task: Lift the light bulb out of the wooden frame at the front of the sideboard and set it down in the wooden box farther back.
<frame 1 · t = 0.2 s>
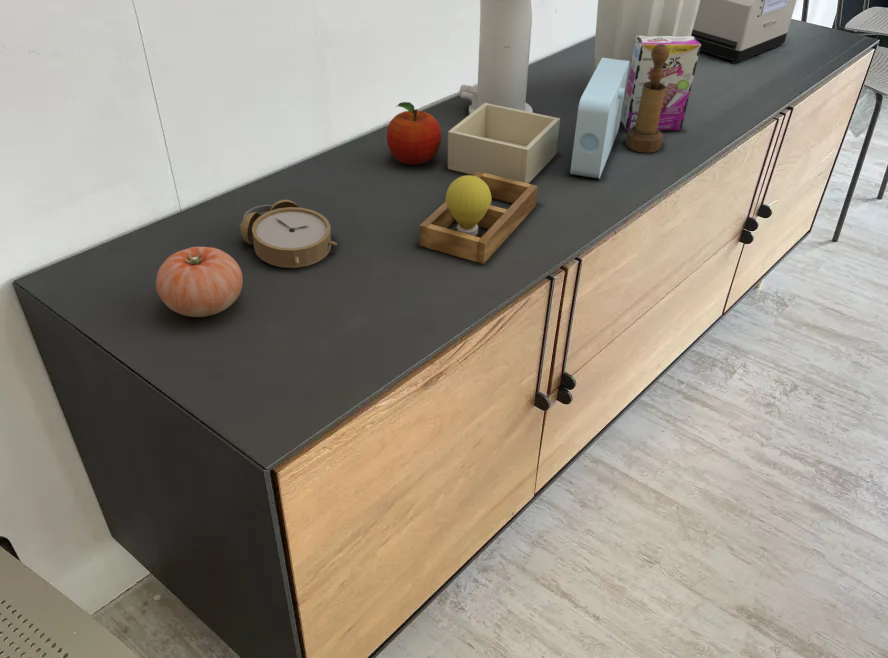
vase: (632, 96, 163), on the sideboard top
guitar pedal: (595, 153, 142), on the sideboard top
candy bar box: (650, 128, 151), on the sideboard top
wooden frame: (480, 224, 121), on the sideboard top
toaster: (716, 43, 191), on the sideboard top
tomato: (205, 307, 104), on the sideboard top
light bulb: (467, 239, 118), resting in wooden frame
mortar and pestle: (642, 146, 145), on the sideboard top
alarm clock: (286, 245, 116), on the sideboard top
fruit: (414, 161, 138), on the sideboard top
wooden box: (502, 161, 138), on the sideboard top
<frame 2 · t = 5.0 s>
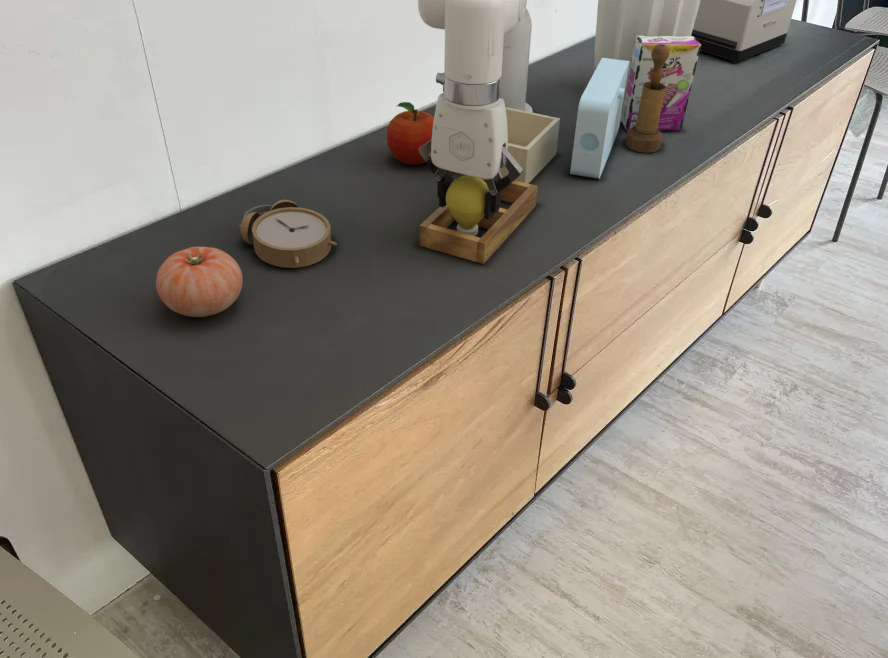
hand: (468, 208, 115), 5 cm above the sideboard top, tool pointing down, fingers closed on light bulb, 6 cm apart
light bulb: (467, 239, 118), resting in wooden frame, touching gripper
everything else where it was.
when the fingers open (6 cm above the sideboard top, at t = 13.2 s): light bulb stays where it is, resting on wooden box.
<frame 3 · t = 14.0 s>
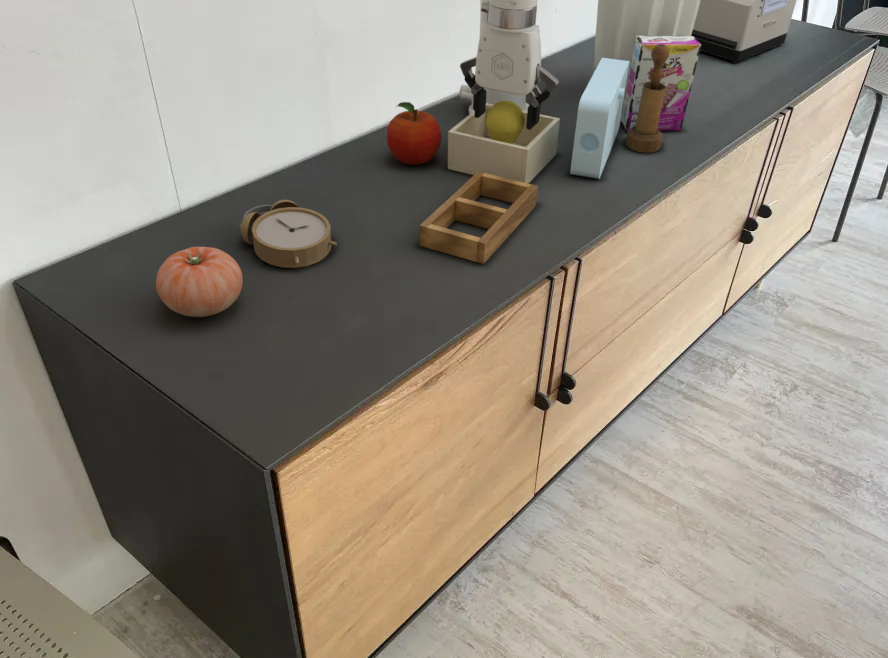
hand: (505, 120, 134), 7 cm above the sideboard top, tool pointing down, fingers open, 9 cm apart
light bulb: (502, 158, 138), point 1 cm above the sideboard top, touching wooden box
everything else where it was.
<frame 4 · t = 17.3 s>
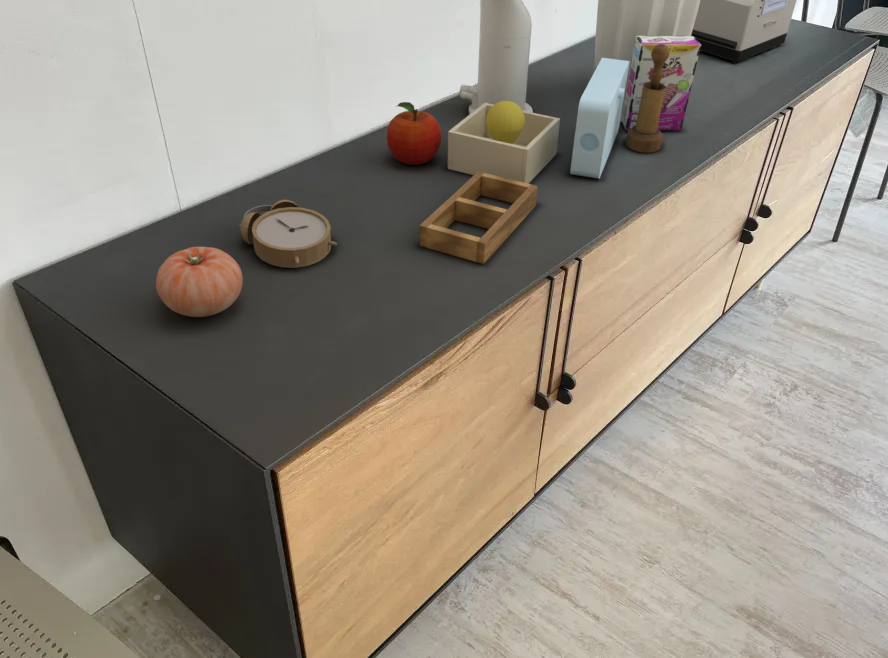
nothing on the sideboard top moved.
at the end: light bulb inside the target area in the wooden box (0.1 cm from its centre), point 0.6 cm above the wooden box's base; the gripper is holding nothing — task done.
